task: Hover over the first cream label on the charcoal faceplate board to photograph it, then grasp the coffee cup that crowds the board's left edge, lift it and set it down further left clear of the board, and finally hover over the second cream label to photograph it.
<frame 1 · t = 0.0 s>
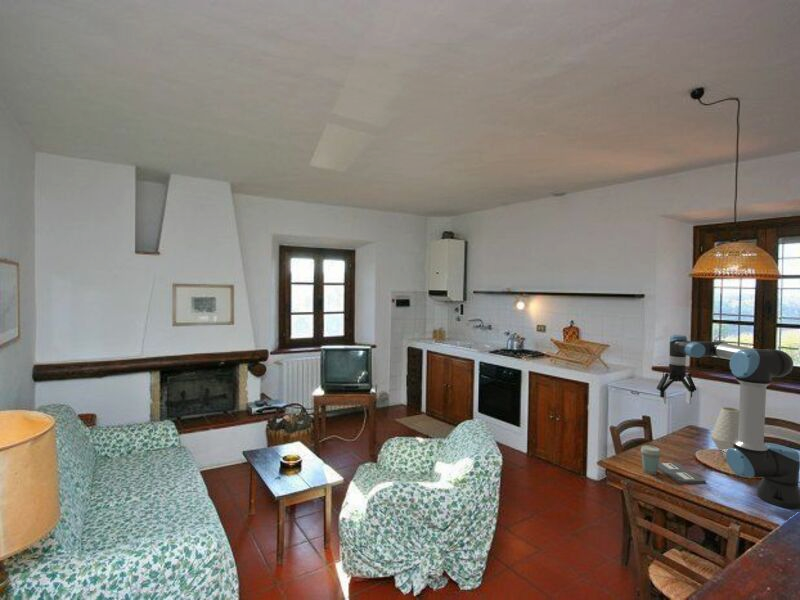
hand: (675, 403, 237), 28 cm above the table, fingers open, 13 cm apart
vase: (729, 450, 245), on the table
coffee cup: (649, 472, 216), on the table
faceplate board: (677, 473, 215), on the table
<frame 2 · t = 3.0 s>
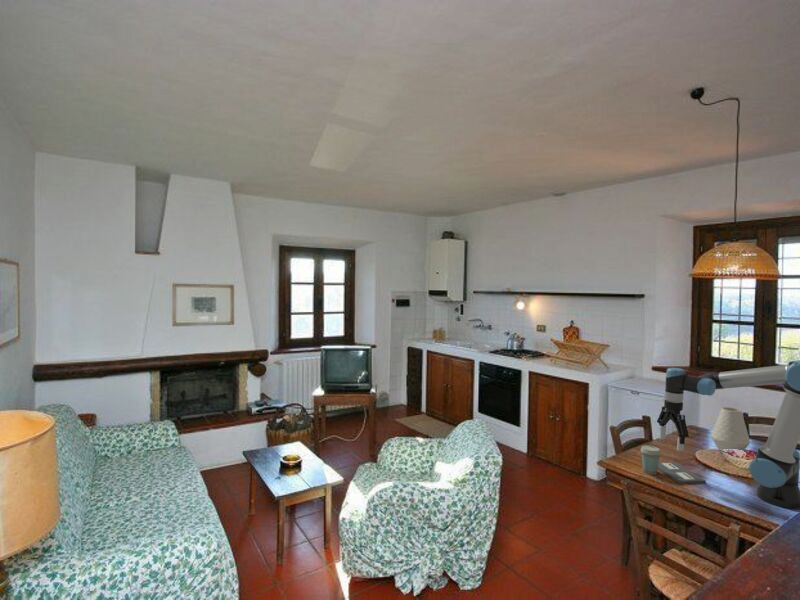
hand: (671, 444, 212), 15 cm above the table, fingers open, 13 cm apart
nothing on the table moved.
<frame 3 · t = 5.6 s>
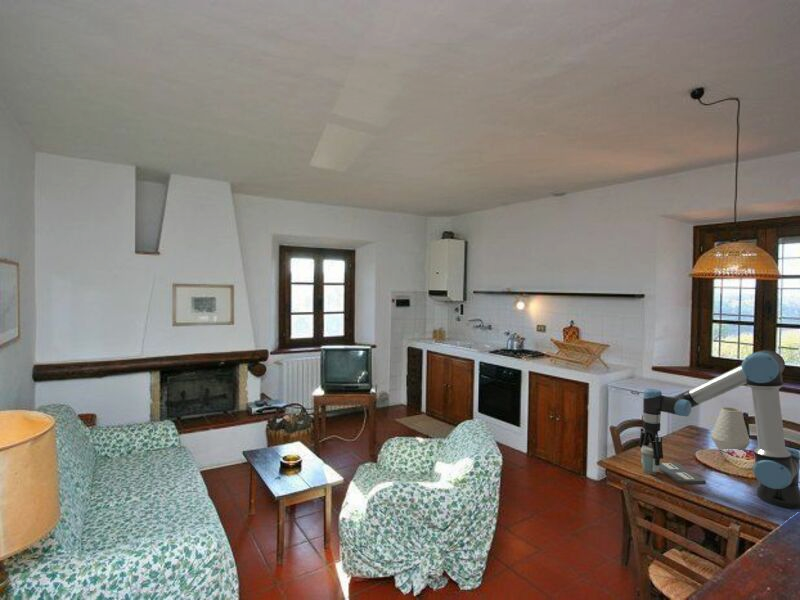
hand: (650, 467, 216), 3 cm above the table, fingers closed on coffee cup, 8 cm apart
coffee cup: (649, 472, 216), on the table, touching gripper
everything else where it was.
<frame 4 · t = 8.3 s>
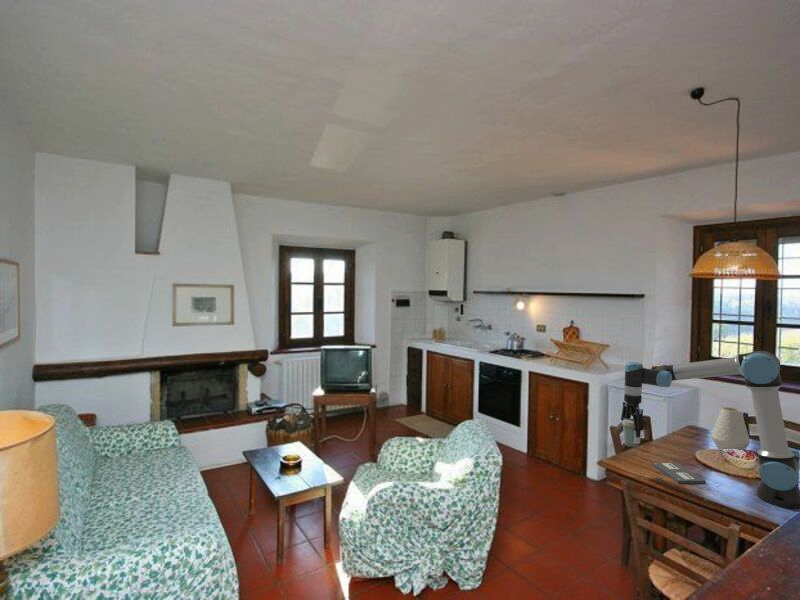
hand: (631, 439, 217), 15 cm above the table, fingers closed on coffee cup, 8 cm apart
coffee cup: (631, 445, 218), point 13 cm above the table, touching gripper
everything else where it was.
when the fingers open (3 cm above the table, at t = 11.3 s): coffee cup stays where it is, on the table.
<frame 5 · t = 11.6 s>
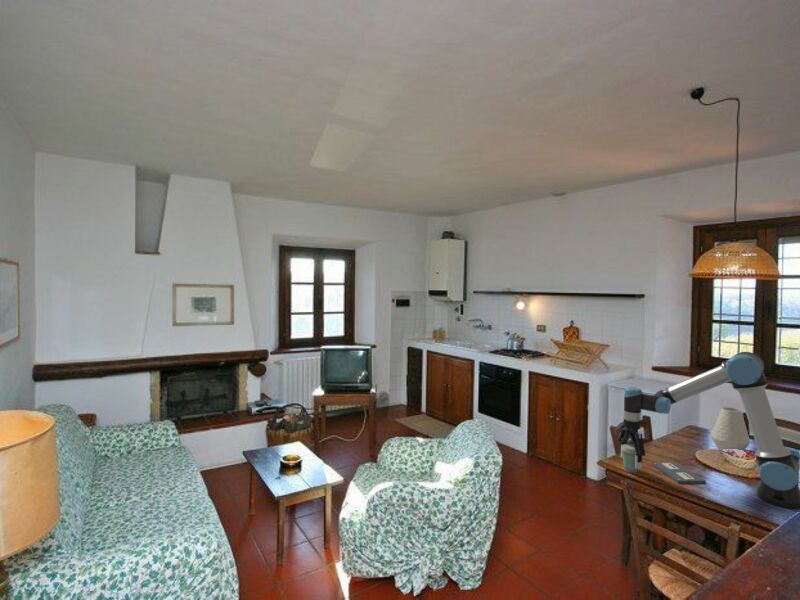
hand: (630, 462, 218), 4 cm above the table, fingers open, 12 cm apart
coffee cup: (630, 471, 218), on the table
everything else where it was.
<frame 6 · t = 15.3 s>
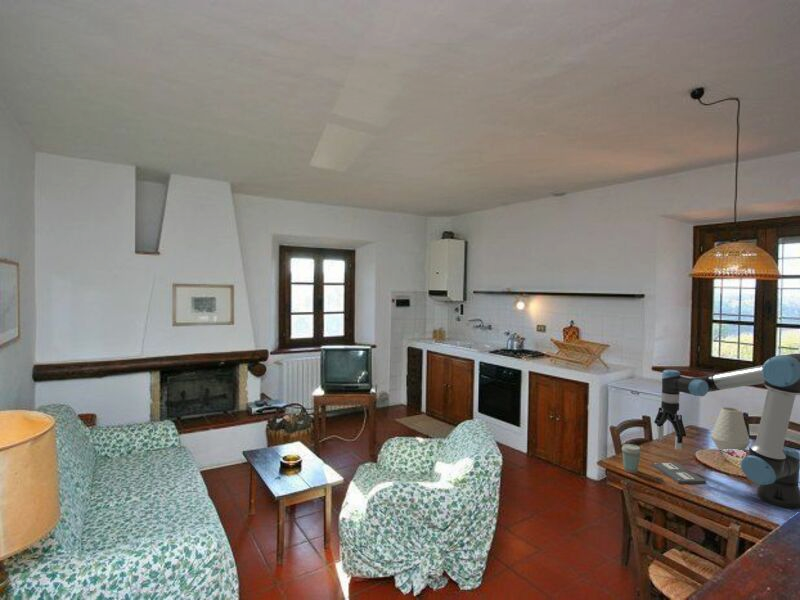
hand: (669, 444, 219), 13 cm above the table, fingers open, 13 cm apart
nothing on the table moved.
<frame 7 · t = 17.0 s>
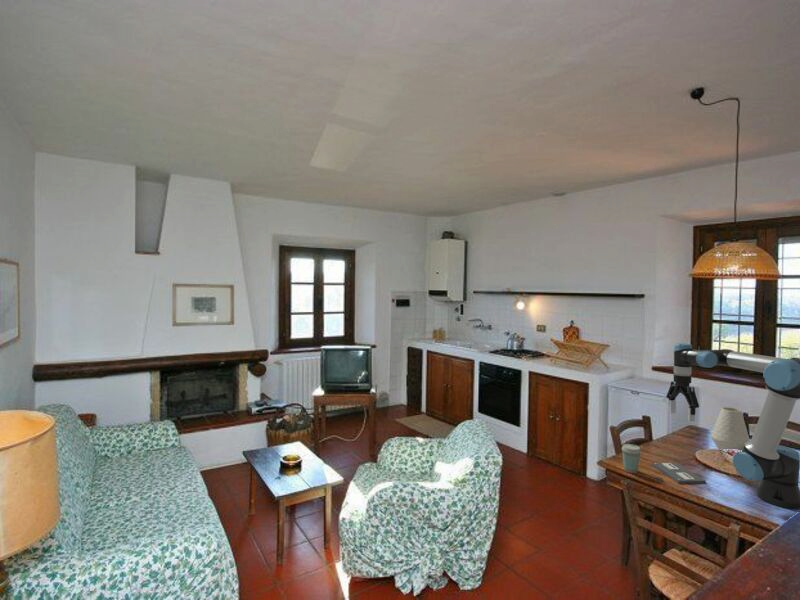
hand: (681, 417, 221), 26 cm above the table, fingers open, 13 cm apart
nothing on the table moved.
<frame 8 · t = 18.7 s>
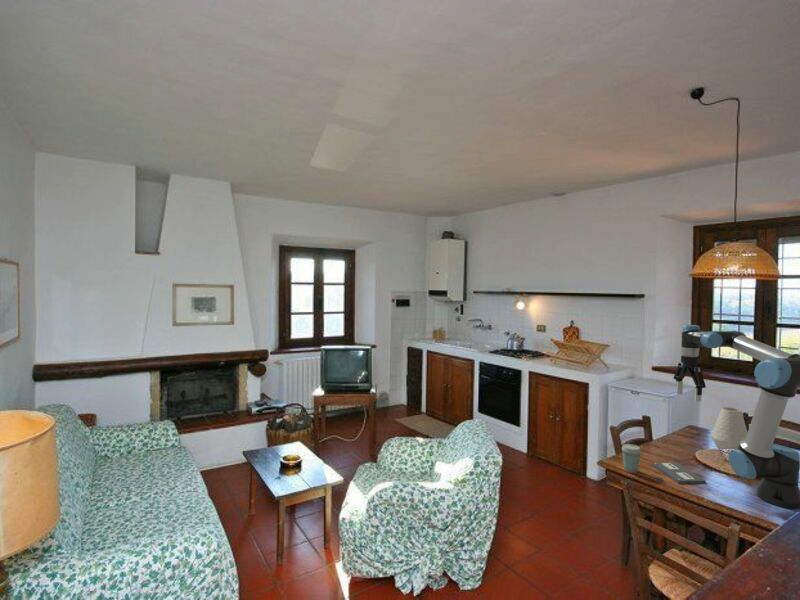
hand: (688, 397, 224), 35 cm above the table, fingers open, 13 cm apart
nothing on the table moved.
at the end: coffee cup inside the target area (0.5 cm from its centre), on the table; coffee cup tilted 0°; coffee cup touching table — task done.
